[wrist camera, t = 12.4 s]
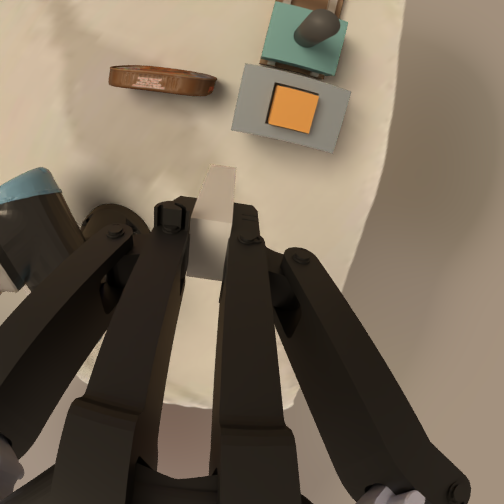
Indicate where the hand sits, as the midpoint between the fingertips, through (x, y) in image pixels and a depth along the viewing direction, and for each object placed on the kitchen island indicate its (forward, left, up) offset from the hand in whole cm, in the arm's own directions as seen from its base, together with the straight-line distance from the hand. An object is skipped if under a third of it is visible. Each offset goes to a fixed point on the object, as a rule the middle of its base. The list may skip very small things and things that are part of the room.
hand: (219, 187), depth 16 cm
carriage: (+5, +14, -23) cm, 28 cm away
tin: (-12, +5, -26) cm, 29 cm away
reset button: (+5, +4, -18) cm, 19 cm away
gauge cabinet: (+5, +4, -26) cm, 27 cm away
